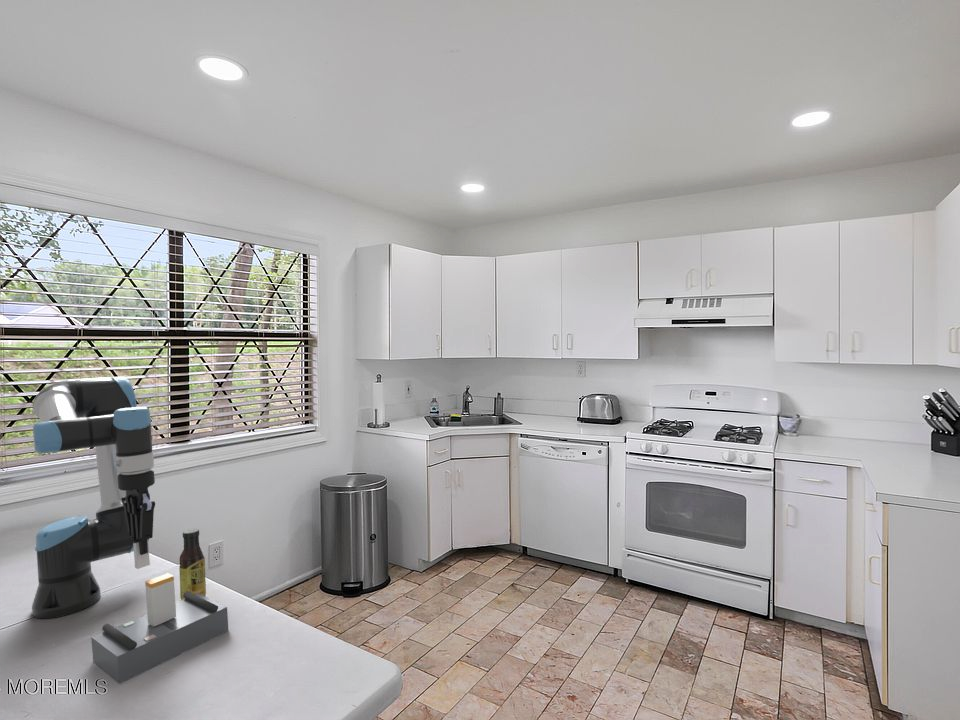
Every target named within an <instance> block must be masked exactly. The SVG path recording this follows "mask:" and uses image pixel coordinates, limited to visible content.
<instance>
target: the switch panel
mask: <svg viewBox="0 0 960 720" xmlns="http://www.w3.org/2000/svg"><path fill="white" fill-rule="evenodd" d="M195 595H196V596H198V597H200V598H202V599H204V600H207V601H209V602H211V603H213V604H215V605H217V606H218V610H217V611H216V612H214V613H213V612H211V611H209V610H207V609H205V608H203V607H201V606H199V605H198V604H196V603H194V602H192V601H190V600H188V599H186V598H185V599H182V600H181V599H180V600H177V601H175V605H176V617H175V618H173V619H170V620H168V621H166V622H163V623H161V624H159V625H157V626H154V627H153V626H152V625H150V624H149V623H148V617H147V613H146V614H144V615H141V616H139V617H137V618H134V619H132V620H129V621H127V622H125V623H122V624H119V625H117V626H114V627H115V628H116V629H117V630H119V631H120V632H122V633H123V634H125V635H126V636H128V637H129V638H131V639H132V640H134V641H135V642H136V643H137V646H136V647H135V648H134V649H133V650H130V649H128V648H127V647H126V646H124V645H123V644H121V643H120V642H119V641H117V640H116V639H114V638H113V637H112V636H110V635H109V634H107V633H106V632H104V631H103V632H100V633H97V634H95V635H93V636H90V637H91V651H92V653H91V654H92V663H93V664H94V665H95V666H96V667H97V668H99V670H101V671H103V673H105V674H106V675H108V676H109V677H110V678H111V679H112V680H113V681H115V682H116V683H117V684H118V685H120V684H122V683H125V682H126V681H129V680H131V679H133V678H134V677H137V676H139V675H141V674H143V673H145V672H147V671H149V670H150V669H153V668H155V667H157V666H159V665H161V664H163V663H165V662H167V661H169V660H171V659H174V658H176V657H177V656H180V655H182V654H184V653H185V651H186V652H187V650H188V651H190V650H192V649H194V648H196V647H198V646H200V645H202V644H204V643H206V642H208V641H210V640H212V639H215V638H216V637H219V636H220V635H223V634H224V633H227V632H229V631H228V630H229V619H228V617H229V616H228V607H227V606H226V605H224V604H222V603H220V602H219V601H215V600H214V599H212V598H210V597H207V596H204V595H202V594H200V593H197V594H195ZM226 631H227V632H226ZM193 647H194V648H193ZM191 648H192V649H191ZM189 649H190V650H189ZM183 652H184V653H183ZM181 653H182V654H181Z"/></svg>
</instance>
